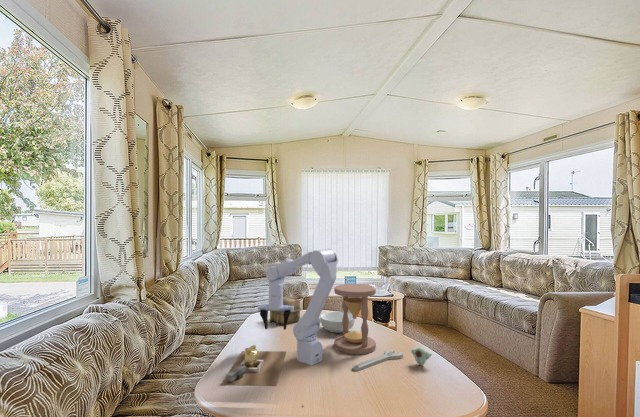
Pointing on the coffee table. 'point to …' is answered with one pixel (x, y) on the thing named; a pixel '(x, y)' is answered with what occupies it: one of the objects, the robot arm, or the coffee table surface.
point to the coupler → (251, 357)
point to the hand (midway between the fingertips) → (275, 328)
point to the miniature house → (279, 315)
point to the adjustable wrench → (378, 360)
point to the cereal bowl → (335, 321)
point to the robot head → (420, 355)
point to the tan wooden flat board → (256, 370)
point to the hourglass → (354, 339)
